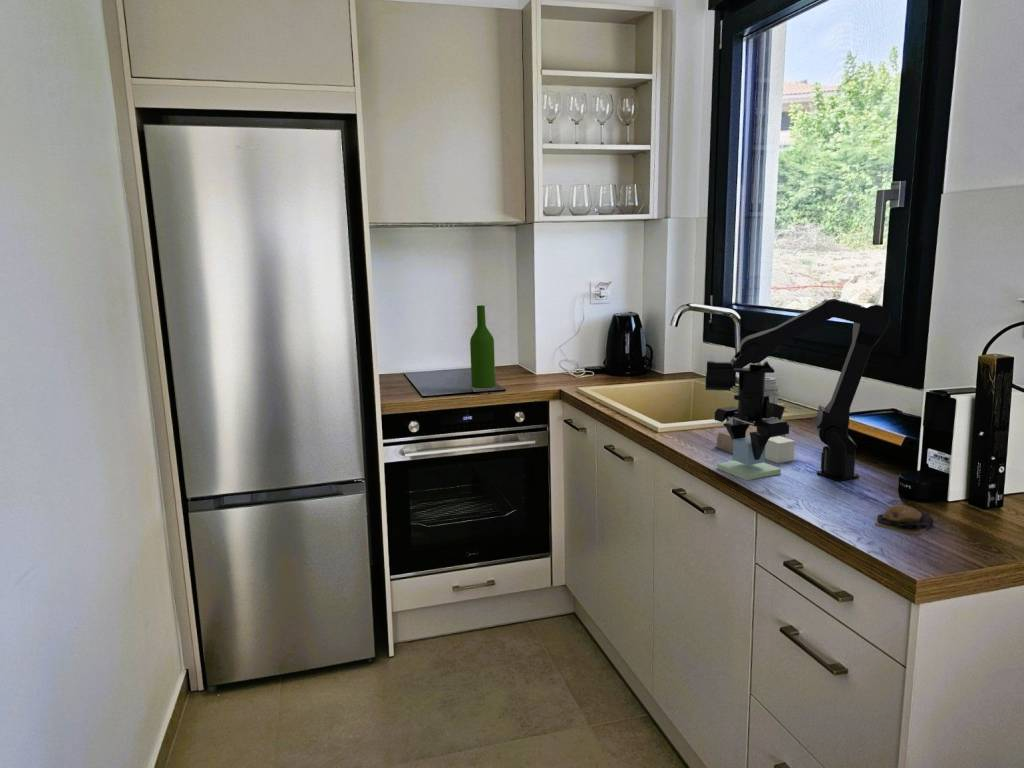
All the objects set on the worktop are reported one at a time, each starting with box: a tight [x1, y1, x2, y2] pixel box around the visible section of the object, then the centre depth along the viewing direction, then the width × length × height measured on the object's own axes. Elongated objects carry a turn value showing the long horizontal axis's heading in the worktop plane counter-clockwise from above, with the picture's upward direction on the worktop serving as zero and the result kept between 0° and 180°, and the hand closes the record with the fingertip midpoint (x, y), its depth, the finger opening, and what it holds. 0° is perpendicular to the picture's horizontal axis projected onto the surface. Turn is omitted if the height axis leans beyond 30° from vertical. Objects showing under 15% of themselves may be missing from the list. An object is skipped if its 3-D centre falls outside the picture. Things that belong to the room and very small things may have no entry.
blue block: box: [732, 437, 766, 465], centre depth 164 cm, size 5×5×5 cm
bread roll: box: [874, 504, 934, 536], centre depth 132 cm, size 11×8×4 cm
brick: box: [716, 425, 787, 454], centre depth 185 cm, size 16×8×5 cm, turn 114°
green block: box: [716, 460, 782, 481], centre depth 165 cm, size 10×10×1 cm
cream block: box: [765, 436, 796, 464], centre depth 173 cm, size 5×5×5 cm
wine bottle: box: [469, 304, 496, 388], centre depth 262 cm, size 9×9×32 cm
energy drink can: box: [753, 376, 779, 422], centre depth 199 cm, size 6×6×15 cm
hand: (749, 456), depth 164 cm, fingers closed on blue block, 5 cm apart
